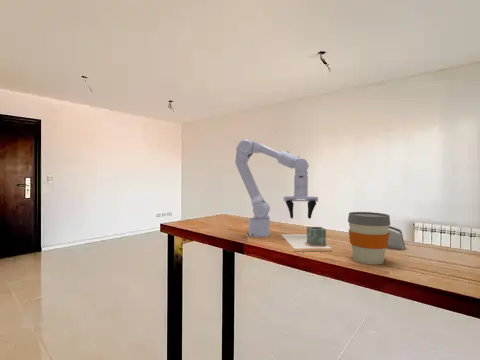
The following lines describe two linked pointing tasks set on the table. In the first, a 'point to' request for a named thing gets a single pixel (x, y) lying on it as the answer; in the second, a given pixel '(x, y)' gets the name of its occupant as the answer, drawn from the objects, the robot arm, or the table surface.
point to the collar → (316, 236)
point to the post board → (302, 242)
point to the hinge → (395, 238)
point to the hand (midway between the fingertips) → (300, 218)
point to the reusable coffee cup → (368, 236)
